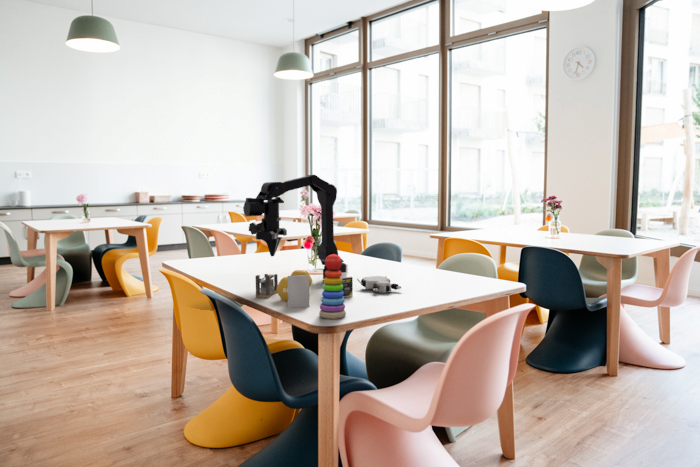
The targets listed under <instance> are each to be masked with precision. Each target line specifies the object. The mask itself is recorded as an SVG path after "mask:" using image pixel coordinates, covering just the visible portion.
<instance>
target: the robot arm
mask: <svg viewBox="0 0 700 467" xmlns="http://www.w3.org/2000/svg"><path fill="white" fill-rule="evenodd" d="M305 187H310V189H311V190H312V191H313V192H315V193H316V197H317V201H318V203H319V204H320V211H321V212H320V216H321V217H320V218H321V222H320V223H321V242H320V244H317V245H316V250H317V252H316V255H317V256H318V259H319V261H320V262H321V265H323V267H324V268H323V269H322V279H323V282H324V278H325V277H326V276H325V272H326V271H327V270H328V269H327V268H326V265H325V260H326V258H327V257H328V256H329V255H331V254H336V255H338V256H339V251H338V246H337V245H336V243H335V238H334V236H335V235H334V233H335V232H334V231H335V230H334V204H335V202H336V201H337V195H338V190H337V187H336V186H335V185H334V184H332V183H329V182H328V181H326V180H324V179H321V178H320V177H319V176H318V175H316V174H308V175H306V176H302V177H298V178H293V179H288V180H285V181H273V182H272V181H270V182H269V181H268V182H264V183H262V186H261V188H260V191H259V192H258V194H257V195H256V197H254V198H253V197H246V198H245V202H244V204H243V209H242V210H243V215H244V216H245V217H261V216H263V218H261V222H258V223H256V222H251V223H249V226H248V232H250V234H251V235H255V240H262V241H263V242H264V243H266V246H267V248H268V251H269V255H270V257H275V254H276V252H277V251H278V250H277V249H278V248H279V246H280V243H281V241H282V239H283V237H282V236H285V237H286V236H287V234H288V233H287V232H288V231H287V229H286V228H284V227H280V221H282V219H281V217H280V204H284V203H285V201H284V200H283V199H282V198H281V197H280V196H281V195H285V193H287V192H289V191H293V190H298V189H301V188H305ZM341 260H342V262H345V261H344V259H342V258H341Z"/></svg>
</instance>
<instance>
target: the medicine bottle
mask: <svg viewBox="0 0 700 467" xmlns="http://www.w3.org/2000/svg"><path fill="white" fill-rule="evenodd" d="M348 267H349V265H348V263H347V262H345V261H344V262H342V265H341V267H340V269H339V270H340V271H341V272H342V275H341V277H340V278H342V283H341V284H342V285H343V289H342V291H343V292H344V295H343V297H344V298H348V297H353V291H354V290H353V286H354V285H353V276H352V275H348V273H349V272H348V270H349V268H348Z"/></svg>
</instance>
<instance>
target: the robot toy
mask: <svg viewBox="0 0 700 467" xmlns="http://www.w3.org/2000/svg"><path fill="white" fill-rule="evenodd" d="M356 280H357V281H358V282H359V283H360V285H361V286H363V288H365V289H366V290H368V291H369V290H371V291H373V292H374V293H375V292H376V293H377V292H379V293H380V294H387V293H389V292H391V291H392V290H395V291H396V290H400V289H402V286H400V285H399V284H397V283H391V280H390V279H389V278H388V277H387V276H386V275H384V276H381V275H380V276H379V275H374V276H373V275H372V276H370V275H369V276H363V277H362V279H361V280H360V279H359V278H357V279H356Z"/></svg>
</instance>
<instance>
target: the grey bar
mask: <svg viewBox="0 0 700 467" xmlns="http://www.w3.org/2000/svg"><path fill="white" fill-rule="evenodd" d="M269 275H270V279H274V275H275V274H269ZM259 282H260V284H261V283H266V276H265V275H264V277H262V278H260V279H259Z"/></svg>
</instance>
